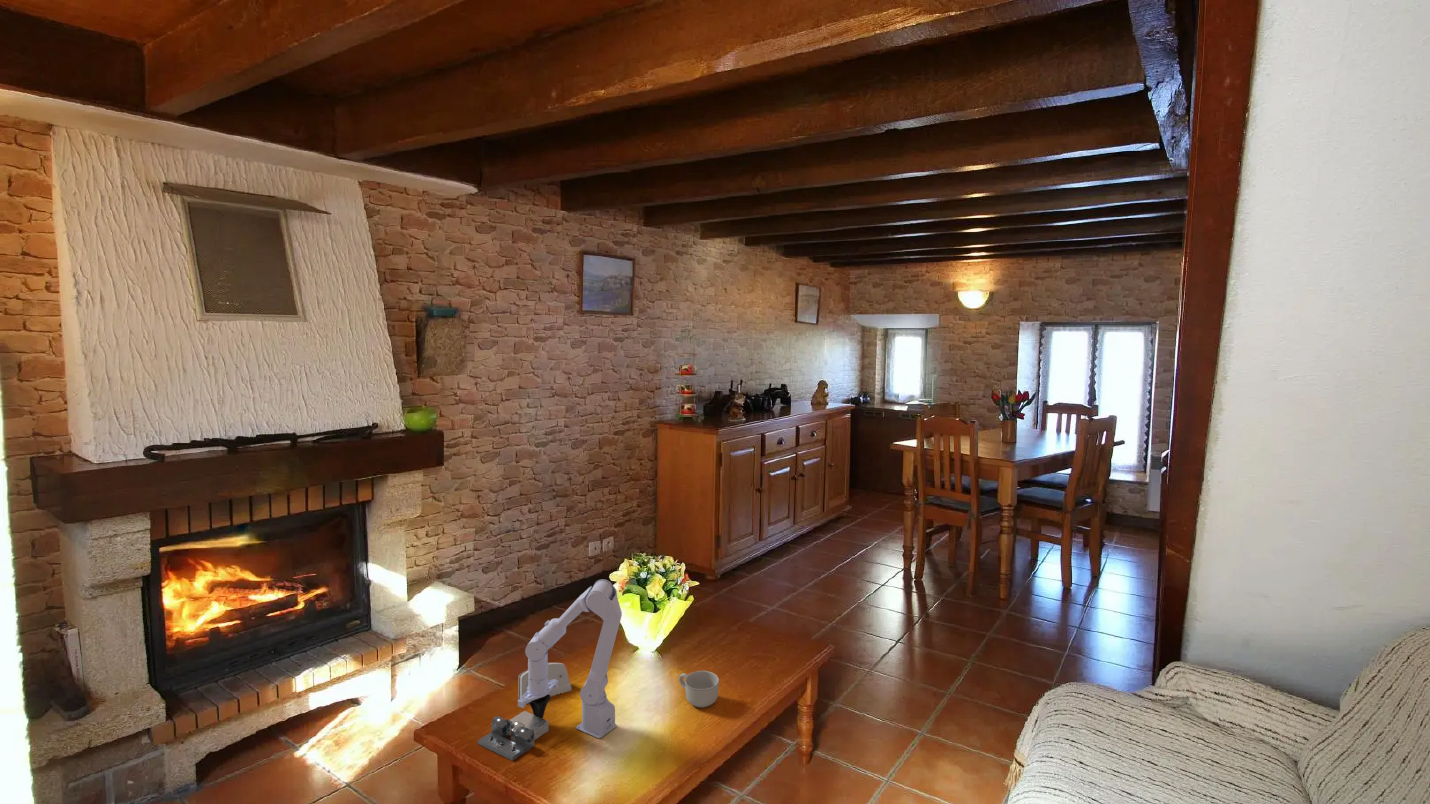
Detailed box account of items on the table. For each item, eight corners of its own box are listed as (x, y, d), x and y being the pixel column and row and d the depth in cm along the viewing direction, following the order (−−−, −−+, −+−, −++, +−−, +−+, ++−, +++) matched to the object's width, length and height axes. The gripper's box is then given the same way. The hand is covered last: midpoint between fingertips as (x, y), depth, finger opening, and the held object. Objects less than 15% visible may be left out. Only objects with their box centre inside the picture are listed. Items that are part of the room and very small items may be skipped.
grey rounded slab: (522, 704, 220) (518, 671, 222) (518, 703, 224) (514, 670, 226) (572, 689, 230) (568, 658, 231) (567, 688, 234) (563, 657, 235)
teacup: (725, 702, 224) (725, 678, 223) (701, 716, 216) (702, 691, 215) (694, 686, 233) (694, 663, 232) (670, 698, 225) (670, 675, 224)
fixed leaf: (534, 746, 199) (534, 729, 199) (512, 760, 193) (512, 743, 192) (499, 730, 207) (499, 713, 206) (477, 743, 200) (477, 727, 199)
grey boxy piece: (548, 730, 207) (548, 715, 206) (525, 746, 199) (525, 730, 199) (524, 719, 212) (524, 705, 212) (501, 734, 204) (500, 719, 204)
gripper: (546, 662, 217) (546, 703, 218) (510, 682, 205) (510, 726, 206) (563, 668, 213) (563, 710, 215) (527, 689, 201) (527, 734, 203)
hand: (538, 719), depth 210 cm, fingers closed
